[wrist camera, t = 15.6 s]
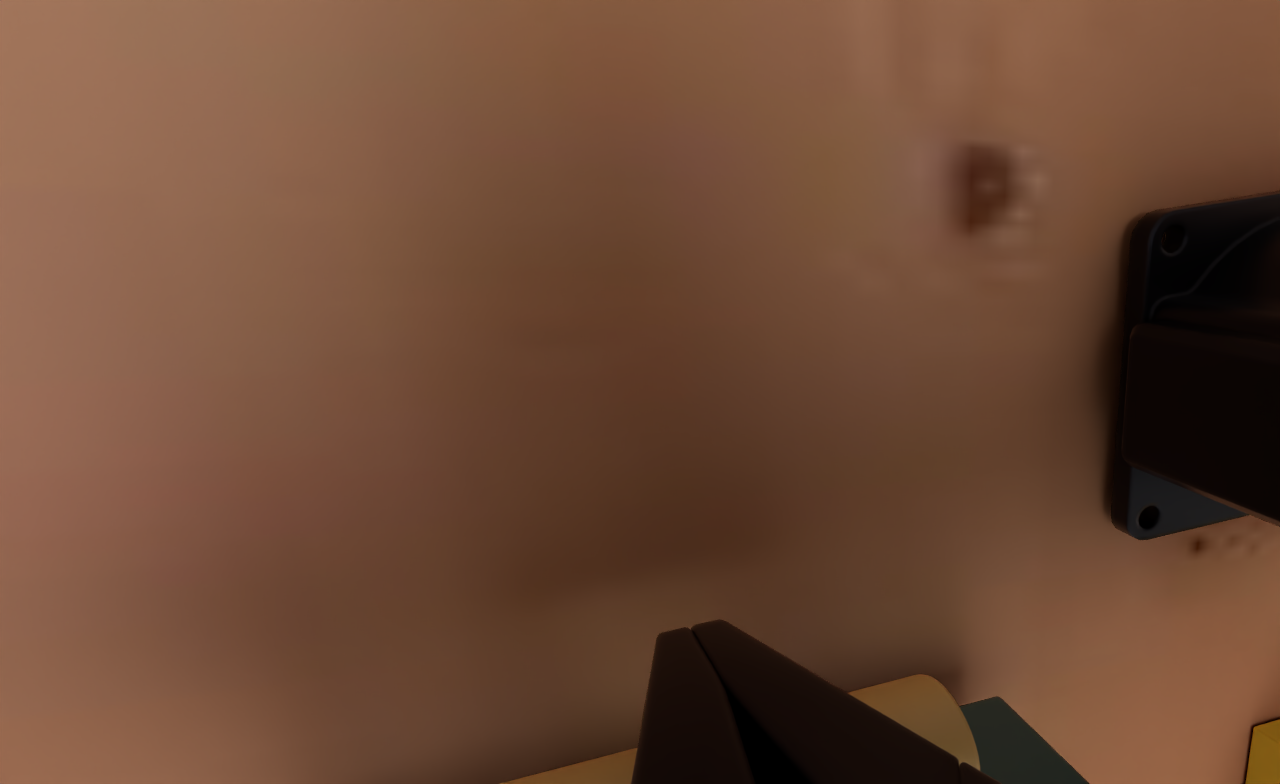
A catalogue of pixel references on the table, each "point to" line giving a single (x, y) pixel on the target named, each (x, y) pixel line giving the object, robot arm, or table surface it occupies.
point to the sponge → (1265, 754)
